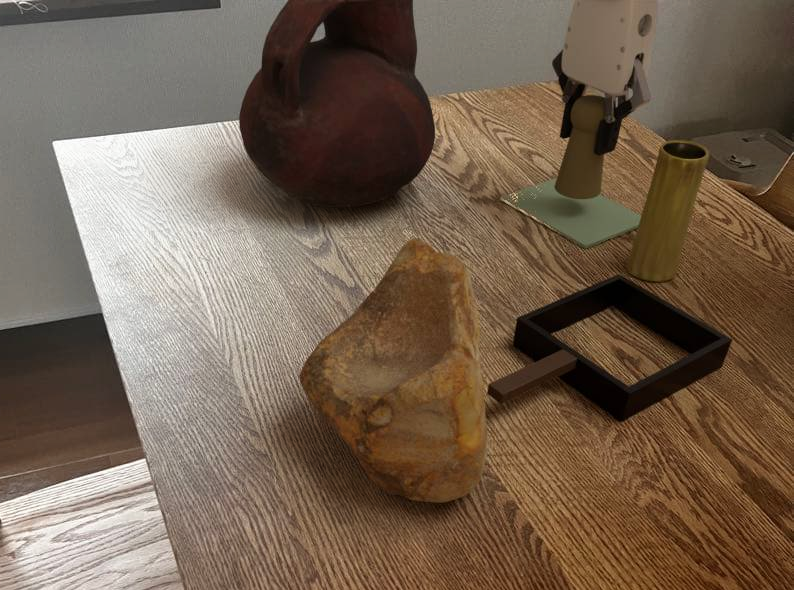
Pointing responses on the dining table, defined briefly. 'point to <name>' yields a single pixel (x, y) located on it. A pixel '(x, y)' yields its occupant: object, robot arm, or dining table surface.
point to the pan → (592, 379)
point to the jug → (339, 103)
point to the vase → (667, 211)
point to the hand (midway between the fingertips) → (586, 142)
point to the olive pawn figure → (582, 151)
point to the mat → (576, 214)
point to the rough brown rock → (408, 379)
